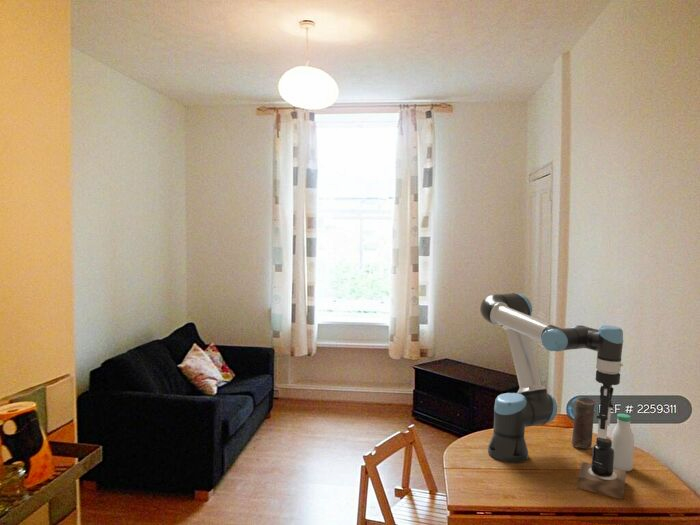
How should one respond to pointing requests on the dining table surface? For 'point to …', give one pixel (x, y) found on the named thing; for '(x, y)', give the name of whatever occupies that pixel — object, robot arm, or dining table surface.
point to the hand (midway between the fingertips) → (603, 431)
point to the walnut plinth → (602, 481)
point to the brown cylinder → (583, 423)
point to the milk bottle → (623, 443)
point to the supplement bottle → (603, 458)
